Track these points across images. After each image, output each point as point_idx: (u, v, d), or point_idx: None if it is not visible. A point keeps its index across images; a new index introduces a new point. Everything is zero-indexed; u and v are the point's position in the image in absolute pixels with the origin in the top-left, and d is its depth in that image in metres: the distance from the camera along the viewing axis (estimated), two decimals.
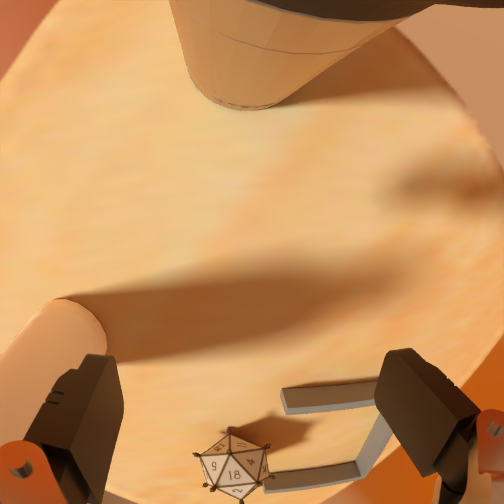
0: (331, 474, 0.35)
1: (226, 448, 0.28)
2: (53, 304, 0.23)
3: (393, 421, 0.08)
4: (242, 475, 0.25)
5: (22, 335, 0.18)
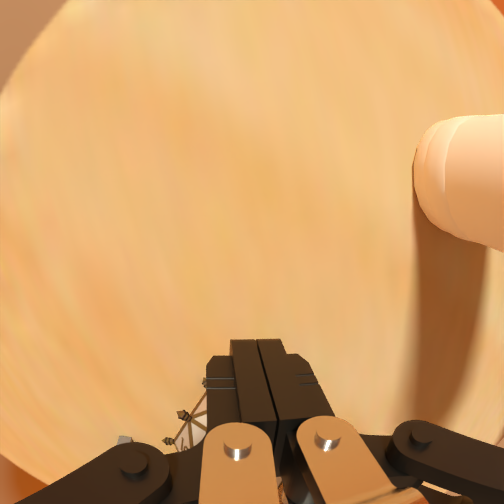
0: None
1: None
2: None
3: None
4: None
5: None
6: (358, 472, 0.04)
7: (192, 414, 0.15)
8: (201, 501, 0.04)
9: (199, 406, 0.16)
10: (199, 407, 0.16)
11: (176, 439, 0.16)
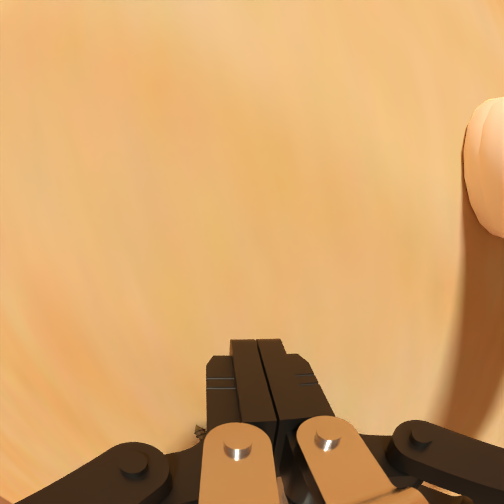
0: None
1: None
2: None
3: None
4: None
5: None
6: (358, 472, 0.04)
7: None
8: (201, 502, 0.03)
9: None
10: None
11: None
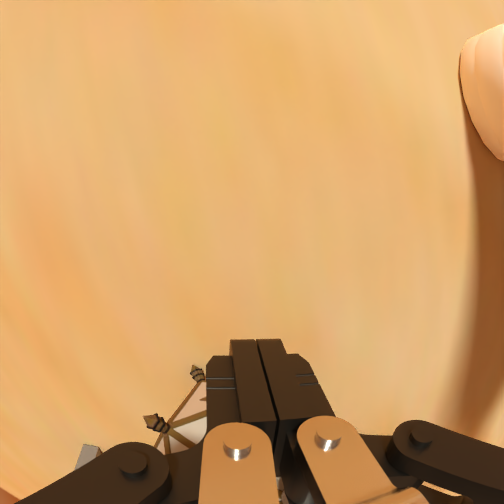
0: None
1: None
2: None
3: None
4: None
5: None
6: (358, 472, 0.04)
7: (171, 421, 0.09)
8: (201, 501, 0.03)
9: (183, 408, 0.10)
10: (183, 409, 0.10)
11: None
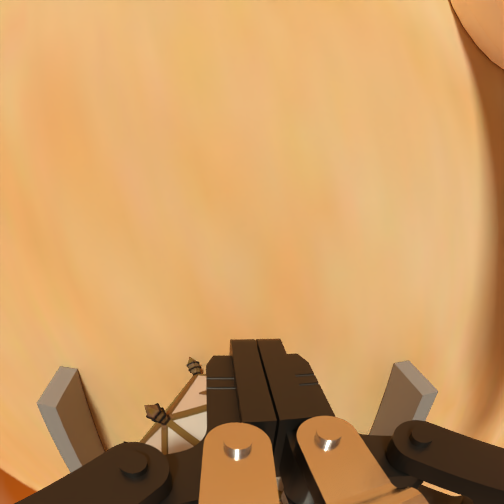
0: None
1: None
2: None
3: None
4: None
5: None
6: (358, 472, 0.04)
7: (170, 412, 0.08)
8: (201, 502, 0.03)
9: (181, 400, 0.10)
10: (182, 401, 0.09)
11: None
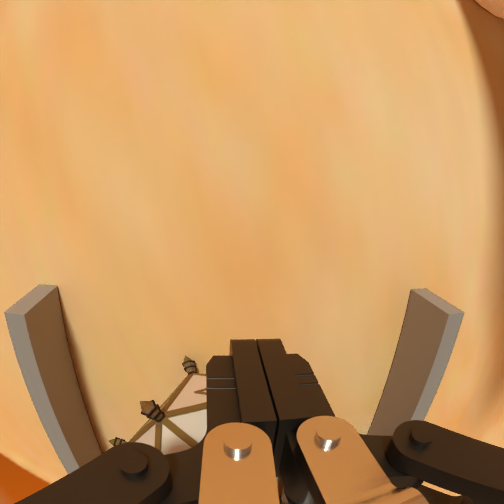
0: None
1: None
2: None
3: None
4: None
5: None
6: (358, 473, 0.04)
7: (165, 410, 0.08)
8: (201, 502, 0.03)
9: (177, 398, 0.10)
10: (177, 399, 0.09)
11: None
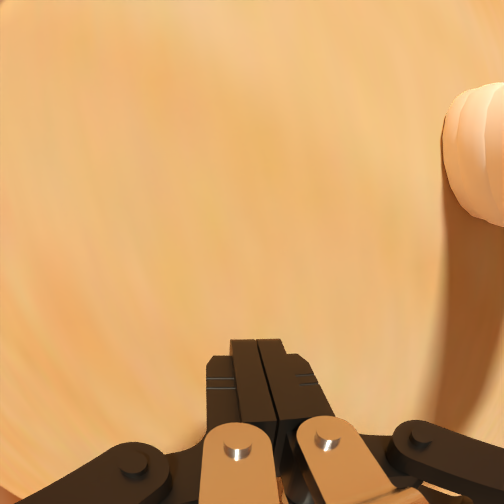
0: None
1: None
2: None
3: None
4: None
5: None
6: (358, 472, 0.04)
7: None
8: (201, 502, 0.03)
9: None
10: None
11: None
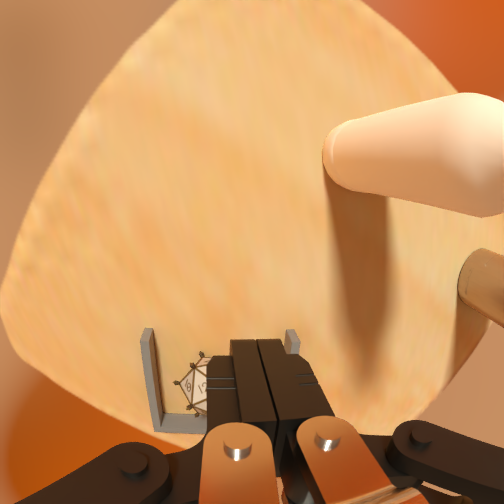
0: (158, 398, 0.36)
1: None
2: None
3: None
4: None
5: None
6: (358, 473, 0.04)
7: (196, 366, 0.32)
8: (201, 502, 0.03)
9: (198, 363, 0.34)
10: (198, 363, 0.33)
11: (182, 381, 0.34)
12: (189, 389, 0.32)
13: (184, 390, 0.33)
